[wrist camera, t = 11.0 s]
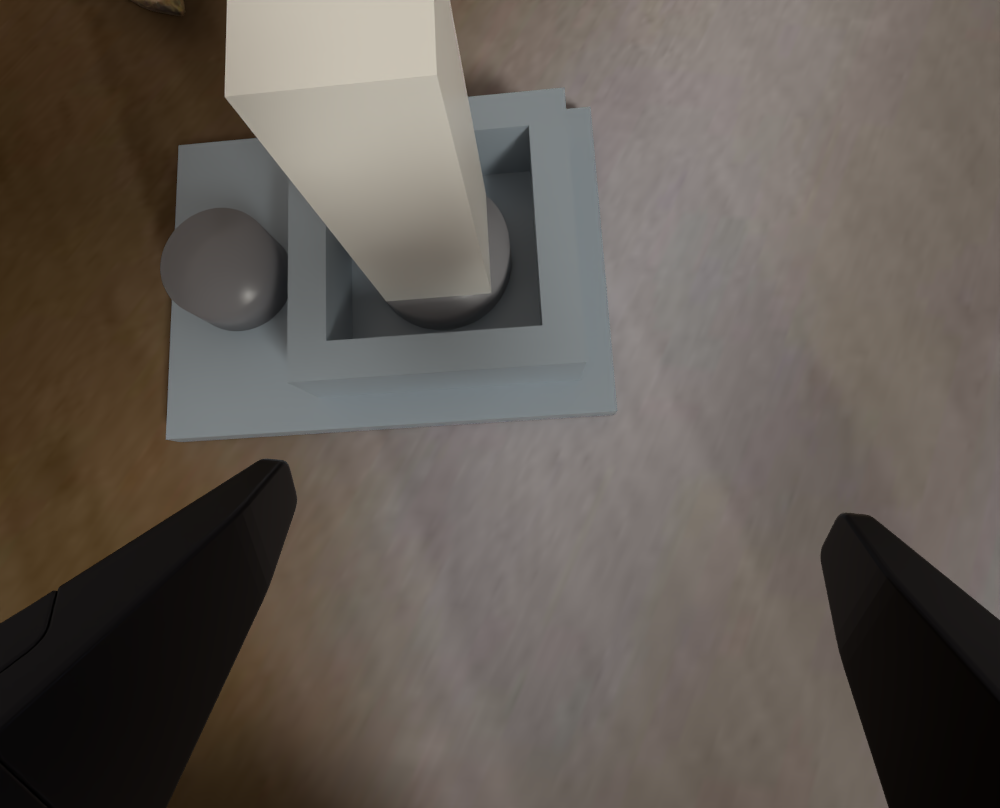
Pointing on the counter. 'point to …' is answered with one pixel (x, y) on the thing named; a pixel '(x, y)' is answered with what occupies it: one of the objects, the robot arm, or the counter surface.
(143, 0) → the ceramic sculpture
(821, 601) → the counter surface
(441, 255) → the cream square pillar
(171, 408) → the housing
